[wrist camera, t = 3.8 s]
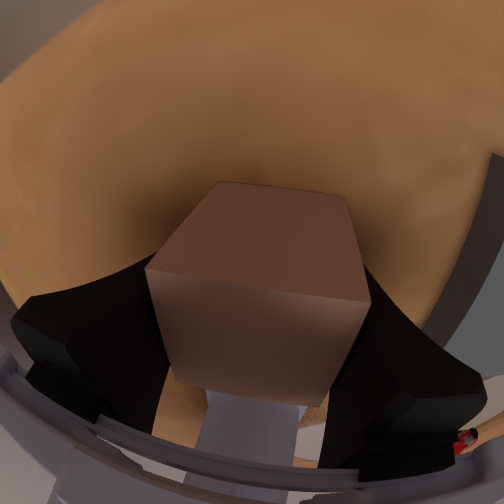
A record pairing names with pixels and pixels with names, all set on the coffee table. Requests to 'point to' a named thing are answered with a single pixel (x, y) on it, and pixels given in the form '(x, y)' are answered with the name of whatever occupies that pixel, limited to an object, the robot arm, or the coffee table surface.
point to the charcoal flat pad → (477, 288)
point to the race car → (465, 440)
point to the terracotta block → (261, 293)
